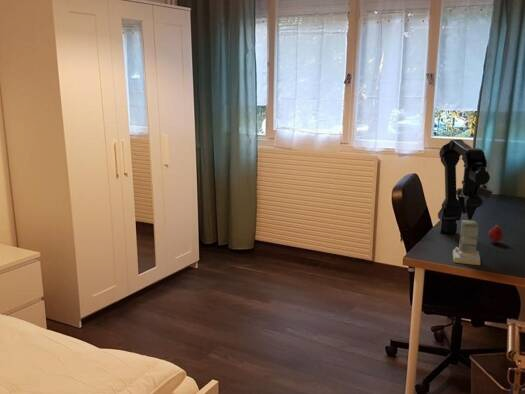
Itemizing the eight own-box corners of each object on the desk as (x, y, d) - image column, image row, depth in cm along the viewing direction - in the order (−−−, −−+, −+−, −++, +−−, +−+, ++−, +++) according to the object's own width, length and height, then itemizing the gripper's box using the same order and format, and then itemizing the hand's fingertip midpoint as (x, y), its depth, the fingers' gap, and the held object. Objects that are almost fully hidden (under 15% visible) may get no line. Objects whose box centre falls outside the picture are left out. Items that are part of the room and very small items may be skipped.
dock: (453, 262, 188) (454, 257, 187) (452, 253, 197) (453, 248, 197) (480, 265, 185) (480, 260, 184) (477, 256, 194) (478, 251, 194)
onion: (498, 240, 213) (500, 223, 211) (505, 245, 208) (507, 227, 206) (485, 240, 213) (487, 223, 211) (491, 245, 207) (493, 227, 205)
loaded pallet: (455, 250, 195) (458, 219, 192) (473, 251, 194) (477, 220, 191) (459, 256, 188) (462, 224, 185) (478, 257, 187) (482, 225, 184)
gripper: (498, 185, 189) (494, 223, 193) (485, 176, 207) (481, 211, 211) (468, 184, 191) (464, 222, 194) (457, 175, 209) (454, 210, 212)
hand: (466, 216), depth 203 cm, fingers open, 9 cm apart
